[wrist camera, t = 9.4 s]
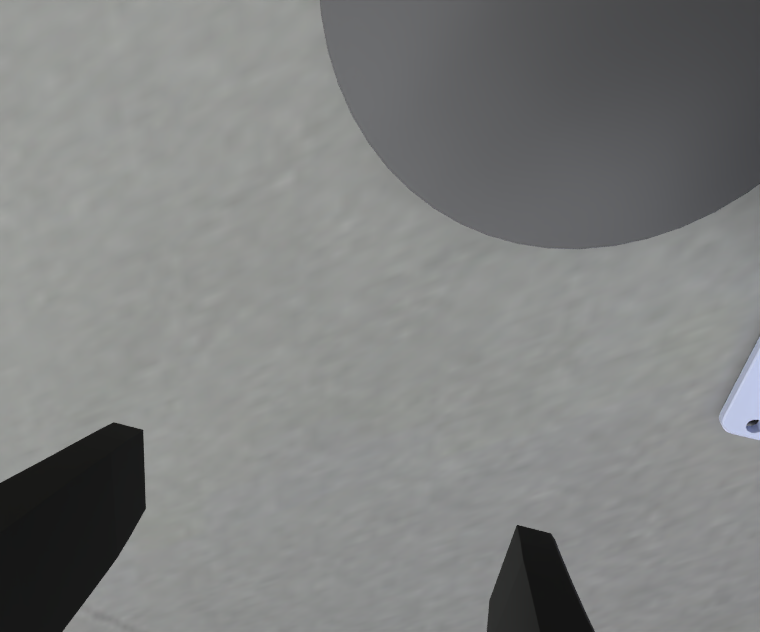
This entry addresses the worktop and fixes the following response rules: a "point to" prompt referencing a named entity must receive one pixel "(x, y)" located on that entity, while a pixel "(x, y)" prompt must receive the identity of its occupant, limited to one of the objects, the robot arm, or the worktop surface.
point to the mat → (557, 109)
